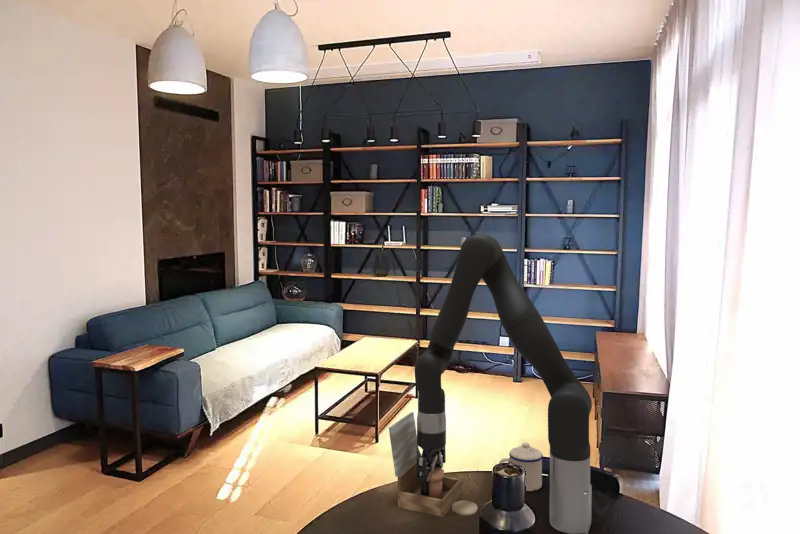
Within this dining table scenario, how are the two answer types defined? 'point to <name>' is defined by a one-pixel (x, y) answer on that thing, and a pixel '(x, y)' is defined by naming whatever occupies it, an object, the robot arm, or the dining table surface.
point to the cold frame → (405, 470)
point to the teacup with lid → (528, 464)
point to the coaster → (464, 508)
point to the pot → (436, 483)
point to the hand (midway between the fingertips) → (431, 488)
